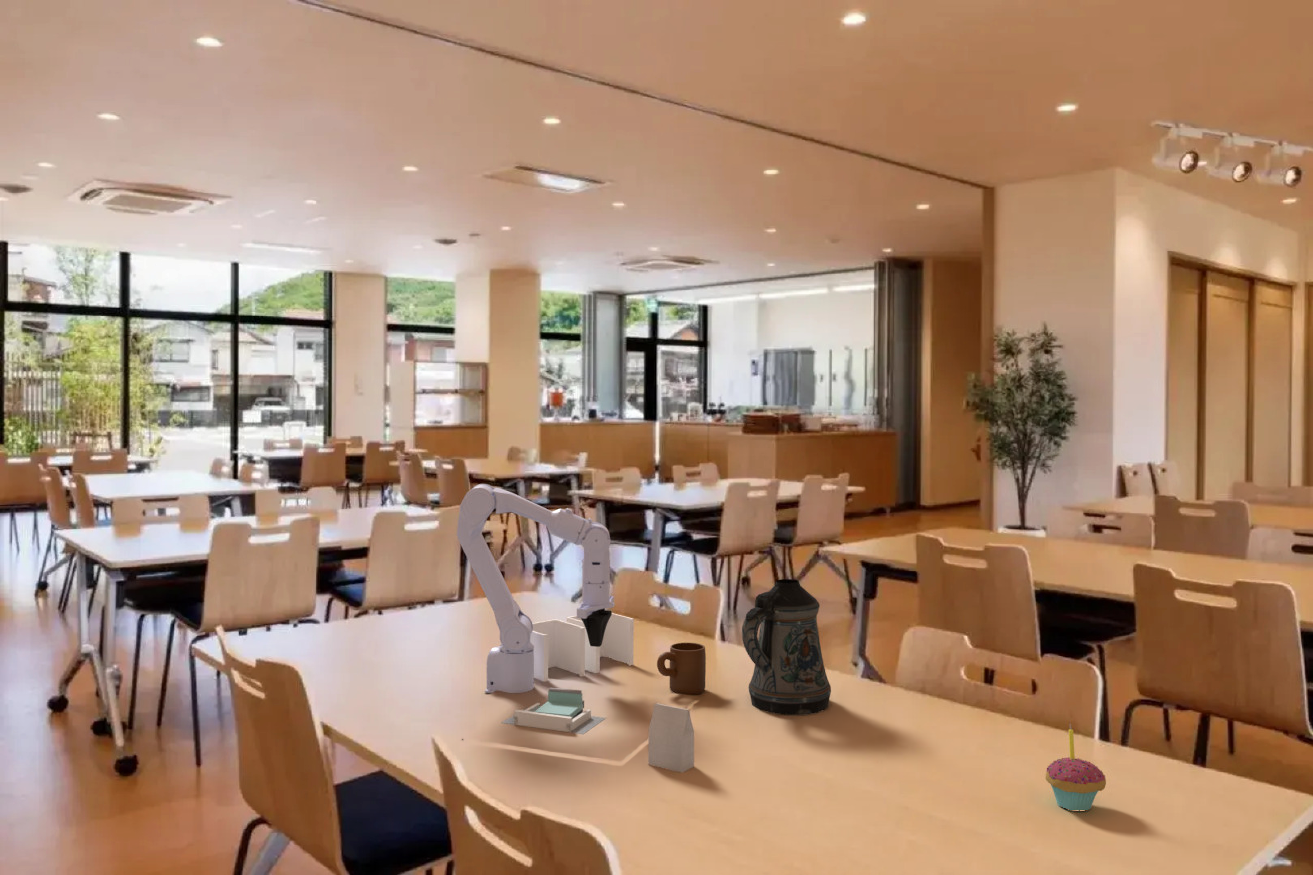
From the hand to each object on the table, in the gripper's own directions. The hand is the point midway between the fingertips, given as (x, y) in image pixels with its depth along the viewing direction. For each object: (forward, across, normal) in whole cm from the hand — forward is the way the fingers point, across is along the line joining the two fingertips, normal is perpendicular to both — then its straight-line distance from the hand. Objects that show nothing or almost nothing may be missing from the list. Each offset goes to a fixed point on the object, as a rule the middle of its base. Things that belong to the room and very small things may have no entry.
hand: (595, 645), depth 215 cm
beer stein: (+10, +5, -40) cm, 41 cm away
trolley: (+9, -22, -2) cm, 24 cm away
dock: (+9, -23, -2) cm, 25 cm away
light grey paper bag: (+10, -35, -30) cm, 47 cm away
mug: (+10, +5, -17) cm, 20 cm away
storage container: (+10, +13, +11) cm, 20 cm away
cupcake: (+10, -28, -93) cm, 98 cm away
